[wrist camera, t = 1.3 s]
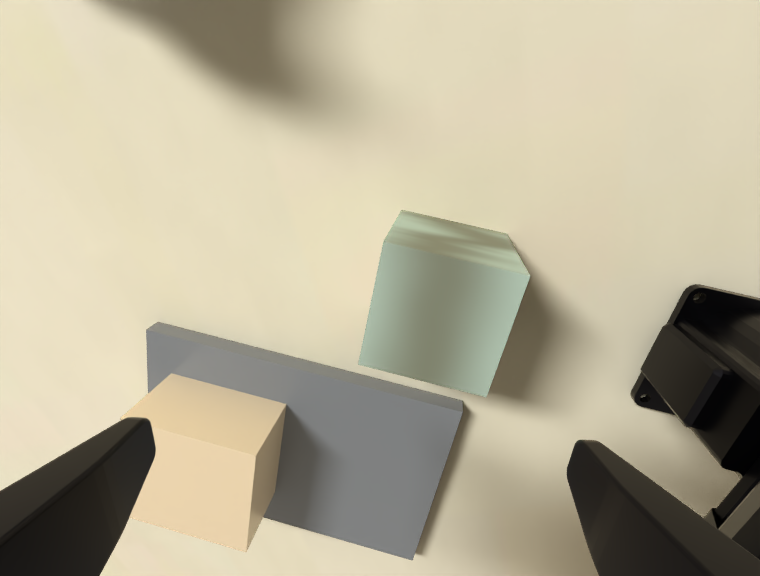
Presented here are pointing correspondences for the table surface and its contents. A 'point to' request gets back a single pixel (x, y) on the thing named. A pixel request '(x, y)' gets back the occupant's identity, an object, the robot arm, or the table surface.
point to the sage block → (443, 302)
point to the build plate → (286, 445)
